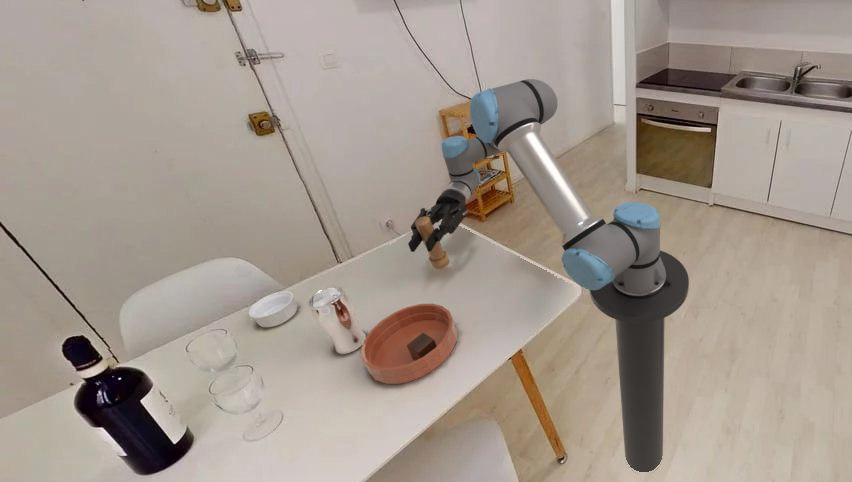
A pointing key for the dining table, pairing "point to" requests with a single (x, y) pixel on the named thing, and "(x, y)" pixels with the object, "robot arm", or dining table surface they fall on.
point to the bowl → (396, 331)
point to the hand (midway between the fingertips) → (419, 247)
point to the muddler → (437, 253)
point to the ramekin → (274, 309)
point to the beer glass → (337, 318)
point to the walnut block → (421, 346)
